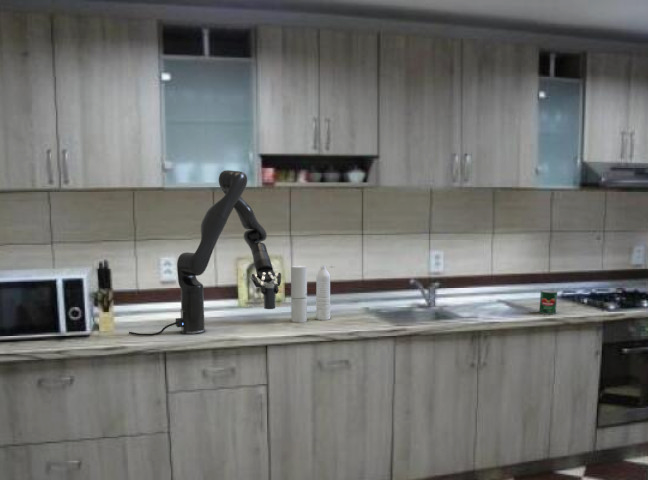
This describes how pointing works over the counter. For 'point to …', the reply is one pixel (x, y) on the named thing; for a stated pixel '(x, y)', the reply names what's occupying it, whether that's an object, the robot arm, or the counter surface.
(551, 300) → the canned tomato
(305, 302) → the cylindrical container
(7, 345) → the counter surface
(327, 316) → the water bottle
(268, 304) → the salt shaker
